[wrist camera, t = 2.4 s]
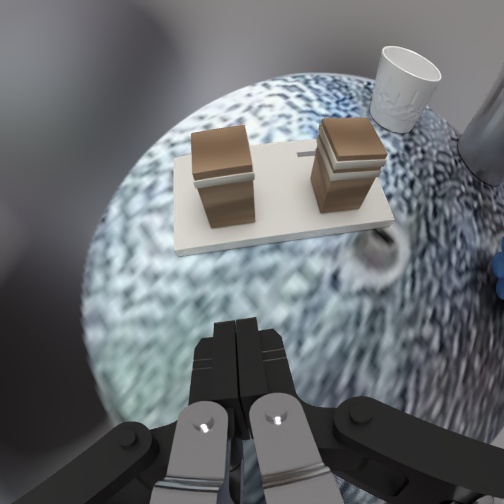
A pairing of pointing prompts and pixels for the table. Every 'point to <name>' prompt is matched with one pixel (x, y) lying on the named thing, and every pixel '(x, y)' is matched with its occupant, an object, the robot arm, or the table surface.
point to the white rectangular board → (271, 204)
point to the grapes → (499, 271)
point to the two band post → (345, 163)
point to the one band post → (224, 175)
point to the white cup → (402, 88)
